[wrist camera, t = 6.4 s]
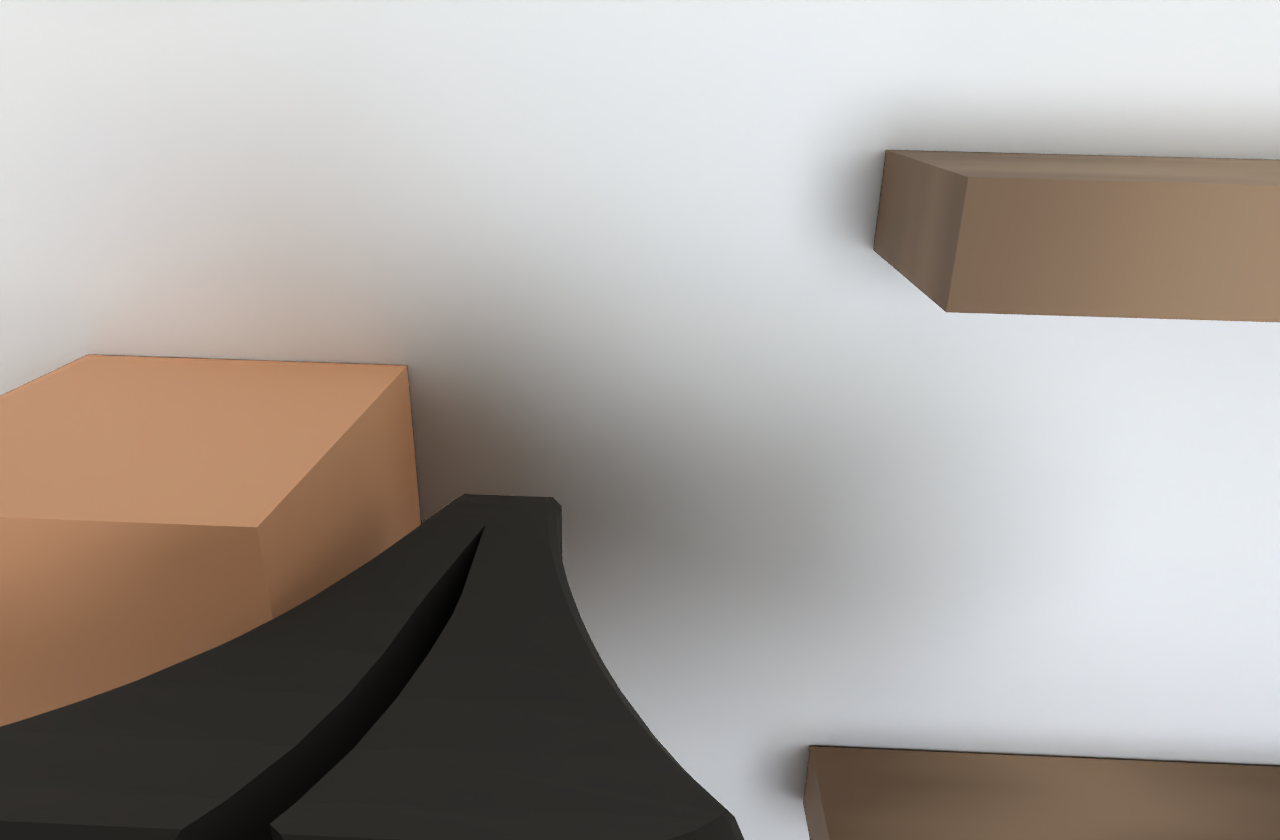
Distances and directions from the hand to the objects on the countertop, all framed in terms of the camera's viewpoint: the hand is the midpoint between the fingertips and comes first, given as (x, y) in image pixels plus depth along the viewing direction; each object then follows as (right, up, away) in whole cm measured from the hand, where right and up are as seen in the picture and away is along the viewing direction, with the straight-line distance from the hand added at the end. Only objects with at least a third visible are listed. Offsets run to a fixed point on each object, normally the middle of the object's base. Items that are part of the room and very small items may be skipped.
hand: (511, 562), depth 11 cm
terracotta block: (-4, +1, +1) cm, 4 cm away
